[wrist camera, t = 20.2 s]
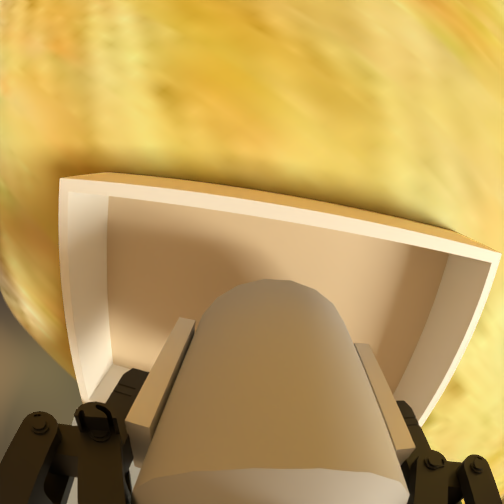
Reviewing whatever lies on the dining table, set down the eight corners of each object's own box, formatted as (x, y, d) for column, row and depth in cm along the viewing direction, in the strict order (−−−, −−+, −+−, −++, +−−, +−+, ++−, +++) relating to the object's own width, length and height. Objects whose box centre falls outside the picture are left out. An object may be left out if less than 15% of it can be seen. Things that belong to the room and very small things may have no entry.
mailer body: (108, 171, 17) (59, 177, 12) (455, 231, 16) (501, 253, 12) (111, 362, 21) (82, 402, 16) (389, 401, 20) (407, 446, 16)
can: (173, 304, 15) (50, 516, 4) (315, 246, 14) (429, 500, 2) (237, 405, 17) (211, 593, 5) (358, 366, 16) (421, 563, 4)
